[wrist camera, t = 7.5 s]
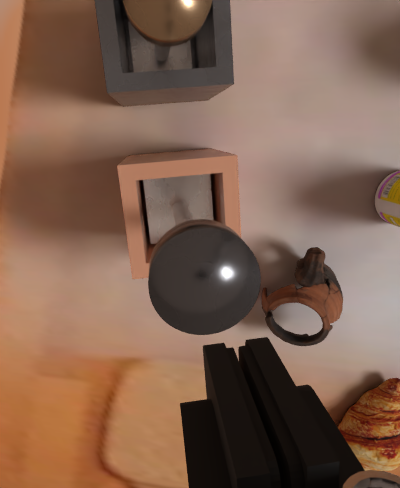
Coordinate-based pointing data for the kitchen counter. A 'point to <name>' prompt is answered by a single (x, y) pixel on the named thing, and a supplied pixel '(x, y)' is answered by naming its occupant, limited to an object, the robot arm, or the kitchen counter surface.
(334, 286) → the brown curved piece
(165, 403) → the kitchen counter surface
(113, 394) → the kitchen counter surface
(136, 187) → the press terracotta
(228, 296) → the grey plunger
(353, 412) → the croissant
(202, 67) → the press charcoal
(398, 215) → the supplement bottle
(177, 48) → the plunger bronze
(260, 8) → the kitchen counter surface
